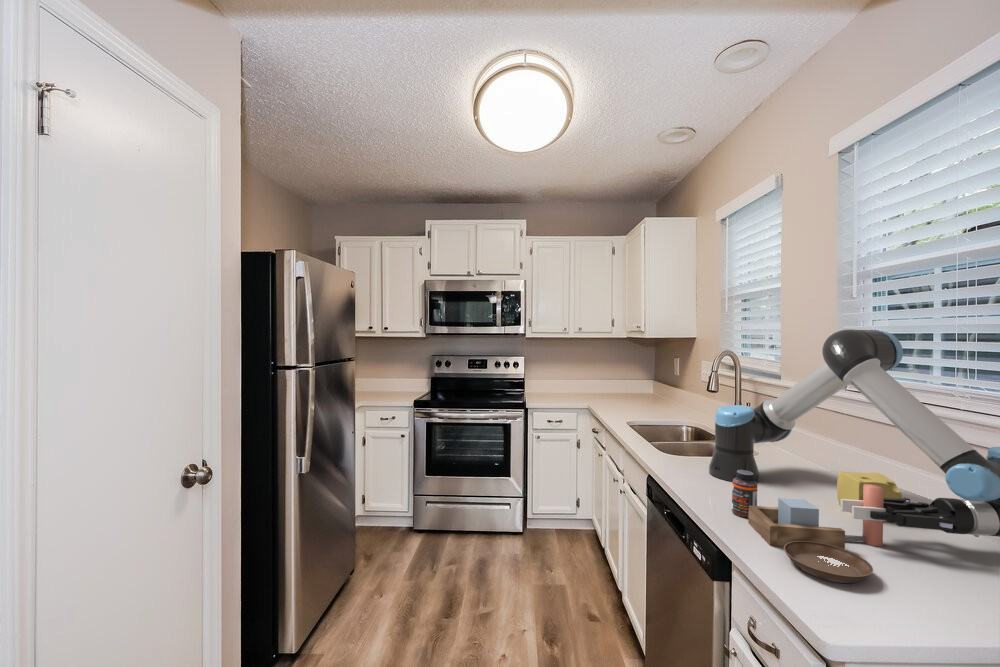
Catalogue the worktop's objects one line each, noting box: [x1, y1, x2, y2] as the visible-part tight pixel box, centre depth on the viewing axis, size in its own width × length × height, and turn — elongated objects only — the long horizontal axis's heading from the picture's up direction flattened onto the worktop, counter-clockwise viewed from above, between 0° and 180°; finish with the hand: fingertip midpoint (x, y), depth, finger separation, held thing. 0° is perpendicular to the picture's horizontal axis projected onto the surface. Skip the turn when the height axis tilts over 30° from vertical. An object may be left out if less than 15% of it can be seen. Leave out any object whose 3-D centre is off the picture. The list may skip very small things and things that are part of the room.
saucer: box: [783, 541, 874, 584], centre depth 92 cm, size 15×15×3 cm
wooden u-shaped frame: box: [747, 505, 846, 550], centre depth 106 cm, size 16×12×4 cm
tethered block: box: [777, 484, 884, 547], centre depth 104 cm, size 21×6×13 cm, turn 81°
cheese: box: [836, 470, 903, 522], centre depth 121 cm, size 10×11×10 cm
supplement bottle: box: [731, 470, 758, 519], centre depth 119 cm, size 6×6×11 cm
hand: (847, 508), depth 104 cm, fingers closed on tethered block, 4 cm apart
